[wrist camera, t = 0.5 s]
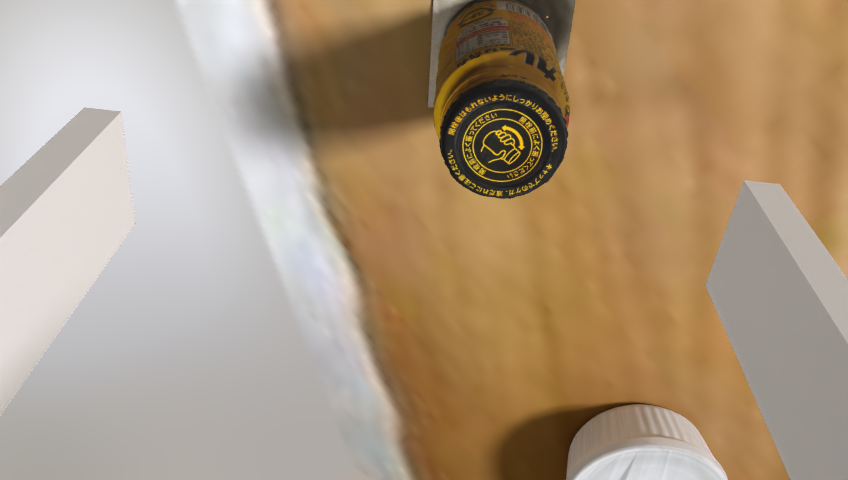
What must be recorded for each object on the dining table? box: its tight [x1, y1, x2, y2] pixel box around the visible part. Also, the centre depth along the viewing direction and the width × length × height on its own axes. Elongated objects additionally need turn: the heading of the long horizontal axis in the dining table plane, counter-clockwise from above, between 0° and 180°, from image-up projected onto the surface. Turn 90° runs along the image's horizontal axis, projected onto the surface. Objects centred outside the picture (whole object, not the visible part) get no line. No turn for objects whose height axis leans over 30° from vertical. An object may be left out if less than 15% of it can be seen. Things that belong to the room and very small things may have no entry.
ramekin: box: [566, 404, 728, 480], centre depth 54 cm, size 11×11×5 cm
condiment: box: [428, 0, 575, 199], centre depth 36 cm, size 7×8×12 cm
